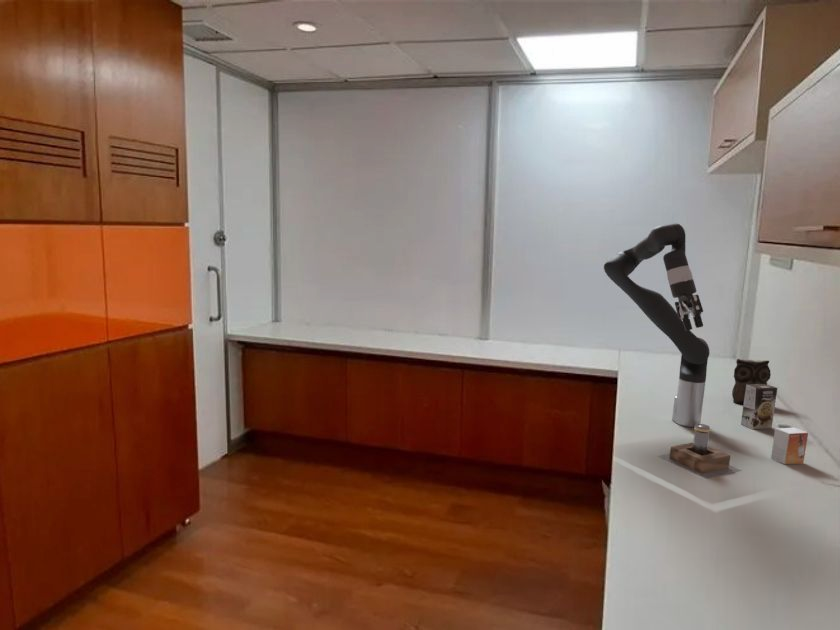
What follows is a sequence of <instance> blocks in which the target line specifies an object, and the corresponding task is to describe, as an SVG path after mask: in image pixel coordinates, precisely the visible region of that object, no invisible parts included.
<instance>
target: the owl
mask: <svg viewBox="0 0 840 630" xmlns="http://www.w3.org/2000/svg"><path fill="white" fill-rule="evenodd" d="M735 361H736V362H735V363H736V366H735V368H734V370H733V378H734V386H733V388H732V391H731V392H732V393H731V395H732V399H733V404H736V405H741V406H743V405H744V398H745V391H746V384H766V385H768V383H767V382H768V381H769V380H770V379H771V369H770V366H769V363H770V360H761V359H740V358H737V359H736V360H735Z"/></svg>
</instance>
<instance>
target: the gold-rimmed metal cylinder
mask: <svg viewBox="0 0 840 630" xmlns="http://www.w3.org/2000/svg"><path fill="white" fill-rule="evenodd" d="M693 428H694V434H693V435H694V436H693V442H692V443H693V450H692V452H695V453H697V454H699V455H706V454H707V446H708V443H709V436H710V432H711V428H710V426H709V425H707V424H704V423H700V424H696V426H695V427H693Z"/></svg>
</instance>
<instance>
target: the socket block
mask: <svg viewBox="0 0 840 630" xmlns="http://www.w3.org/2000/svg"><path fill="white" fill-rule="evenodd" d="M692 450H693V442H688V443H683V444H678V445H672V446H670V452H669V454H670V458H669V459H671V460H674V461H676V462H678V463H680V464H683V465H685V466H687V467H689V468H691V469H694V470H696V471H698V472H700V473H706V472H711V471H715V470H720V469H724V468H729V465H730V459H731V454H728V453H726V452H723V451H722V450H718V449H716V448H713V447H711V446H707V454H706V455H699V454H697V453H695V452H692Z"/></svg>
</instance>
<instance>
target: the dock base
mask: <svg viewBox="0 0 840 630" xmlns="http://www.w3.org/2000/svg"><path fill="white" fill-rule="evenodd" d="M657 457H659V458H660V459H662V460H664V461H667V462H670V463H671V464H673V465H675V466H678V467H681V468H682V469H685V470H686V471H689V472H691V473H693V474H696V475H698V476H700V477H702V478H705V479H711V478H716V477H719V476H723V475H727V474H733V473H737V472H742V469H741V468H740V469H739V468H737V467H735V466H732V465H730V464H729V468H724V469H720V470H715V471H711V472H706V473H700V472H698V471H696V470H694V469H691V468H689V467H687V466H685V465H683V464H680V463H678V462H676V461H674V460H671V459H669V458H670V453H667V454H661V455H657Z"/></svg>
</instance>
